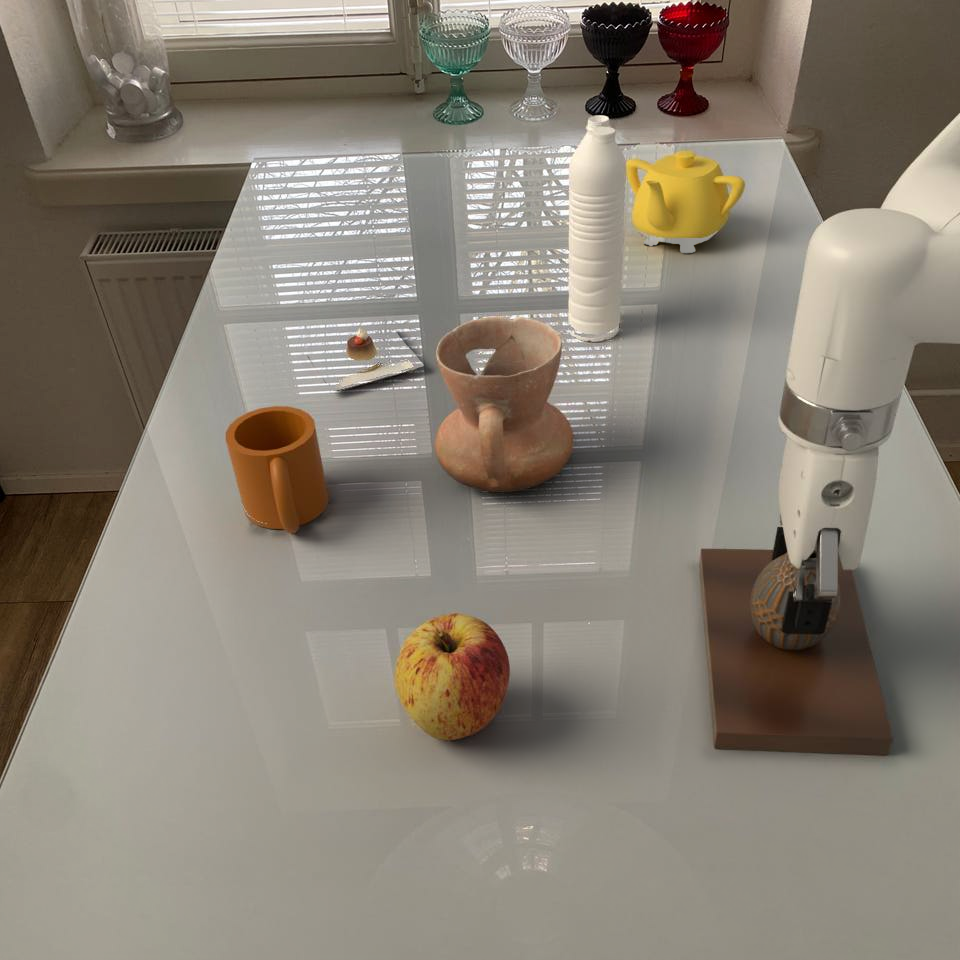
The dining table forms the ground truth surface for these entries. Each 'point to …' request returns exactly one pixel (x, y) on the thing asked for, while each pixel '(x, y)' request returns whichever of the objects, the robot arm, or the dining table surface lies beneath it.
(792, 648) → the vase
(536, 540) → the dining table surface
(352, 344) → the pudding and tray
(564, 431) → the ceramic jug
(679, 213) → the teapot
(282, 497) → the mug
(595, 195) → the water bottle
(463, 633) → the apple
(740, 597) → the walnut board
